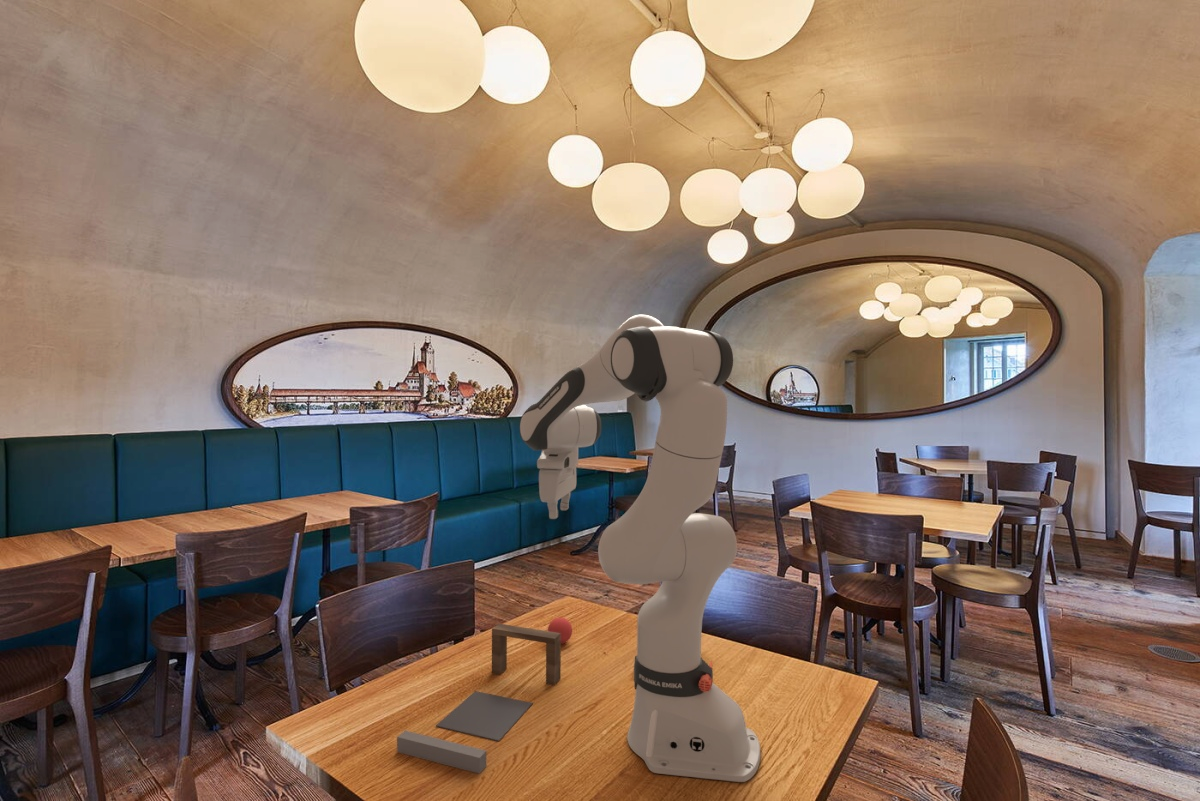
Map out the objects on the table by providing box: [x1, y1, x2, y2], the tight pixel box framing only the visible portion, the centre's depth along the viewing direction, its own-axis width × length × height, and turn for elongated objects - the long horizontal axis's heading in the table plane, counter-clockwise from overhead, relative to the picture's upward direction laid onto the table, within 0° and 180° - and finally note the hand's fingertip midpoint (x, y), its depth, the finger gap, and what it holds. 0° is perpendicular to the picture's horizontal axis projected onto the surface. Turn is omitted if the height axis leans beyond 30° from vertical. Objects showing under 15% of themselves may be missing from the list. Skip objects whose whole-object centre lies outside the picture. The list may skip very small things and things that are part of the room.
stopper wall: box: [396, 730, 487, 774], centre depth 92 cm, size 16×2×2 cm, turn 70°
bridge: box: [491, 623, 562, 686], centre depth 120 cm, size 3×15×10 cm, turn 70°
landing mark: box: [435, 690, 534, 742], centre depth 105 cm, size 13×13×1 cm
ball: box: [547, 617, 573, 645], centre depth 137 cm, size 6×6×6 cm
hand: (559, 513), depth 136 cm, fingers open, 8 cm apart
